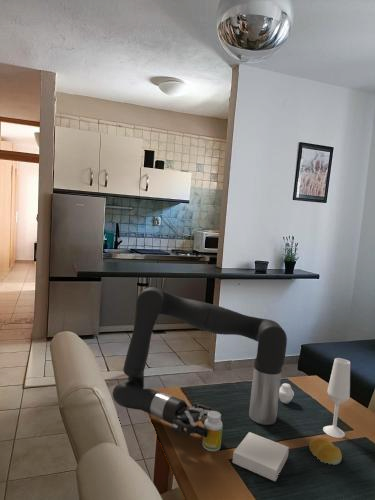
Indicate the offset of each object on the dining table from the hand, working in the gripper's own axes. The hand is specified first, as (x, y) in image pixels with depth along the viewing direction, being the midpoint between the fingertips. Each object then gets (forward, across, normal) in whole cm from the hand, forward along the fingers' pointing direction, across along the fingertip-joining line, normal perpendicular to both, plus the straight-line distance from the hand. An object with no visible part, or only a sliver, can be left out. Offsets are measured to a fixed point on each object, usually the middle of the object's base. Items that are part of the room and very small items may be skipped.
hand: (214, 426), depth 104 cm
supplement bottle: (0, 0, +6) cm, 6 cm away
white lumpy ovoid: (+9, +42, +6) cm, 43 cm away
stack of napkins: (+14, +3, +6) cm, 15 cm away
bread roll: (+28, +17, +6) cm, 34 cm away
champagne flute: (+28, +32, +6) cm, 43 cm away
